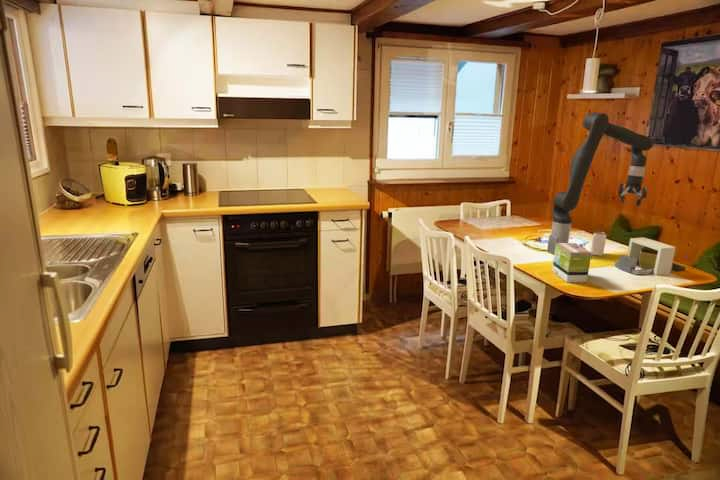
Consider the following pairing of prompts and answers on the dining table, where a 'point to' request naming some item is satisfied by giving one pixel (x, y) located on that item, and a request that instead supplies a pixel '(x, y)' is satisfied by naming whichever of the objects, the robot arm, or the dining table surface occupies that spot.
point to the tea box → (571, 262)
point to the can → (598, 243)
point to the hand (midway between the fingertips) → (629, 204)
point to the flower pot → (647, 258)
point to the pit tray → (677, 267)
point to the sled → (631, 265)
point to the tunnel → (663, 255)
